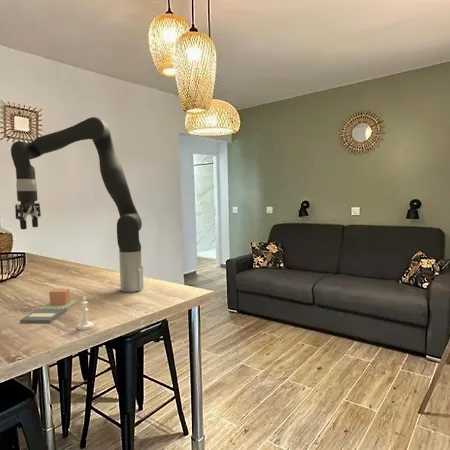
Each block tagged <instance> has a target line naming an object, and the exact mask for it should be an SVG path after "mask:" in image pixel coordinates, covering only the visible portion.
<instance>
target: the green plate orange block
mask: <svg viewBox="0 0 450 450" xmlns="http://www.w3.org/2000/svg"><path fill="white" fill-rule="evenodd" d="M48 295H49V301H48V302H46V303H45V304H44V305H42V306H40V307H39V308H67V311H68V310H70V308H72V307H73V306H75V305H76V304H77V303H79V302H78V299H74V300H73V299H71V292H70V288H64V289H63V288H53V289H52V290H50V291H49V294H48Z"/></svg>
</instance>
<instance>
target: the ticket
mask: <svg viewBox="0 0 450 450" xmlns="http://www.w3.org/2000/svg"><path fill="white" fill-rule="evenodd" d="M67 311H68V310H67V308H40V307H39V308H37V309H35V310H34V311H32V312H30V313H29V314H27V315H26V316H24V317H22V318H21V319H20V320H19V321H20V323H22V324H23V323H24V324H25V323H26V324H27V323H28V324H32V323H33V324H34V323H36V324H41V323H42V324H44V323H45V324H47V323H48V324H51V323H52V322H54V321H55V320H56V319H58V318H59V317H60V316H61V315H62V316H63V314H65V313H66V312H67Z"/></svg>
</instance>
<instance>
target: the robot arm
mask: <svg viewBox="0 0 450 450" xmlns="http://www.w3.org/2000/svg"><path fill="white" fill-rule="evenodd" d="M85 140H92V142H93V144H94V146H95V149H96V151H97V154H98V159H99V160H98V161H99V162H98V163H99V171H100V175H101V178H102V181H103V183H104V184H103V185H104V187H105V190H106V191H107V193H108V194H109V196H110V197H111V199H112V201H113V202H114V204H115V206H116V209H117V211H118V214H119V218H118V219H117V222H116V239H117V246H118V252H119V253H118V255H119V256H118V257H119V284H120V285H119V286H120V292H124V293H133V292H140V291H142V290H143V289H144V266H142V265H143V264H142V244H141V241H140V233H139V232H140V231H141V229H142V226H143V225H142V224H143V223H142V219H141V217H140V214H139V213H138V210H137V208H136V206H135V203H134V201H133V198H132V195H131V191H130V189H129V185H128V181H127V178H126V175H125V172H124V169H123V167H122V165H121V162H120V159H119V157H118V155H117V152H116V149H115V147H114V143H113V138H112V133H111V128H110V127H109V125H108V123H107V122H106V121H105V120H103V119H101V118H99V117H96V116H92V117H89V118H87V119H84V120H81V121H80V122H78V123H77V124H73V125H72V126H69V127H66V128H65V129H60V130H57V131H54V132H52V133H48V134H44V135H41V136H40V135H39V137H38V136H37V137H36V138H35V139H34V141H29V142H25V141H22V140H21V141H20V140H19V141H18V140H17V141H15V142H13V143H12V144H11V147H10V155H11V158H12V162H13V165H14V167H15V176H16V186H15V187H16V188H15V189H16V200H17V202H19V204H18V203H17V204H15V206H14V207H15V208H14V210H15V219H16V220H18V221H19V224H20V230H27V218H28V217H29V216H31V226H32V228H38V227H39V221H38V220H39V218H40V217H41V216H42V213H41V205H40V202H37V201H38V186H37V179H36V171H35V170H36V169H35V167H34V166H33V165H32V164H31V160H33V159H37V158H39V157H41V156H43V155H44V154H48V153H52V152H55V151H59V150H62V149H63V148H66V147H67V146H69V145H71V144H73V143H76V142H80V141H85Z"/></svg>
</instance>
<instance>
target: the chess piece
mask: <svg viewBox="0 0 450 450" xmlns="http://www.w3.org/2000/svg"><path fill="white" fill-rule="evenodd" d="M86 300H87V297H86V295H85V296H82V301H81V303H80V305H81V307H82V308H81V309H80V311H81V312H82V321H81V322H80V323H78V324H77V326H76V329H78V330H79V331H82V330H85V331H86V330H89V329H90V330H91V329H92V328H93V327H94V326H95V325H94V323H93V322H92V321H90V320H88V318H89V317H88V314H87V311H89V308H87V307H88V303H89V302H88V301H86Z"/></svg>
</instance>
